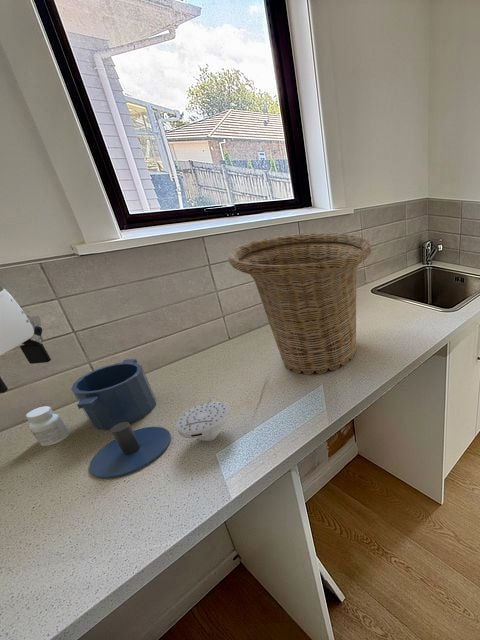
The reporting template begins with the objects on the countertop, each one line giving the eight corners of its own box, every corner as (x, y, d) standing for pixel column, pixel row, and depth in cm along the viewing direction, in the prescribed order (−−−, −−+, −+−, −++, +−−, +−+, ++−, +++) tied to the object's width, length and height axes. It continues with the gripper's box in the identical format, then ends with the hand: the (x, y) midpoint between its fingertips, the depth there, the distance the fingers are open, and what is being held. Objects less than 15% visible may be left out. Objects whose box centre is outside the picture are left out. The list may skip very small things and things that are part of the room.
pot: (71, 445, 70) (46, 405, 65) (118, 394, 84) (101, 359, 80) (136, 435, 72) (116, 396, 67) (170, 388, 87) (156, 353, 82)
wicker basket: (315, 408, 80) (291, 275, 66) (231, 365, 97) (197, 251, 82) (400, 345, 107) (397, 241, 92) (323, 320, 123) (310, 228, 109)
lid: (75, 487, 61) (56, 458, 58) (115, 436, 72) (101, 410, 69) (154, 473, 63) (140, 445, 60) (182, 426, 74) (171, 400, 71)
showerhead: (233, 393, 74) (221, 424, 65) (241, 418, 77) (230, 451, 68) (184, 400, 71) (165, 433, 63) (195, 426, 75) (178, 461, 66)
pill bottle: (50, 434, 72) (31, 406, 69) (75, 430, 73) (58, 402, 70) (35, 450, 68) (15, 421, 65) (62, 445, 70) (44, 416, 66)
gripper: (-14, 274, 61) (33, 354, 69) (-131, 313, 46) (-55, 410, 53) (36, 272, 63) (76, 350, 70) (-62, 309, 48) (3, 403, 55)
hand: (20, 376), depth 62 cm, fingers open, 9 cm apart
